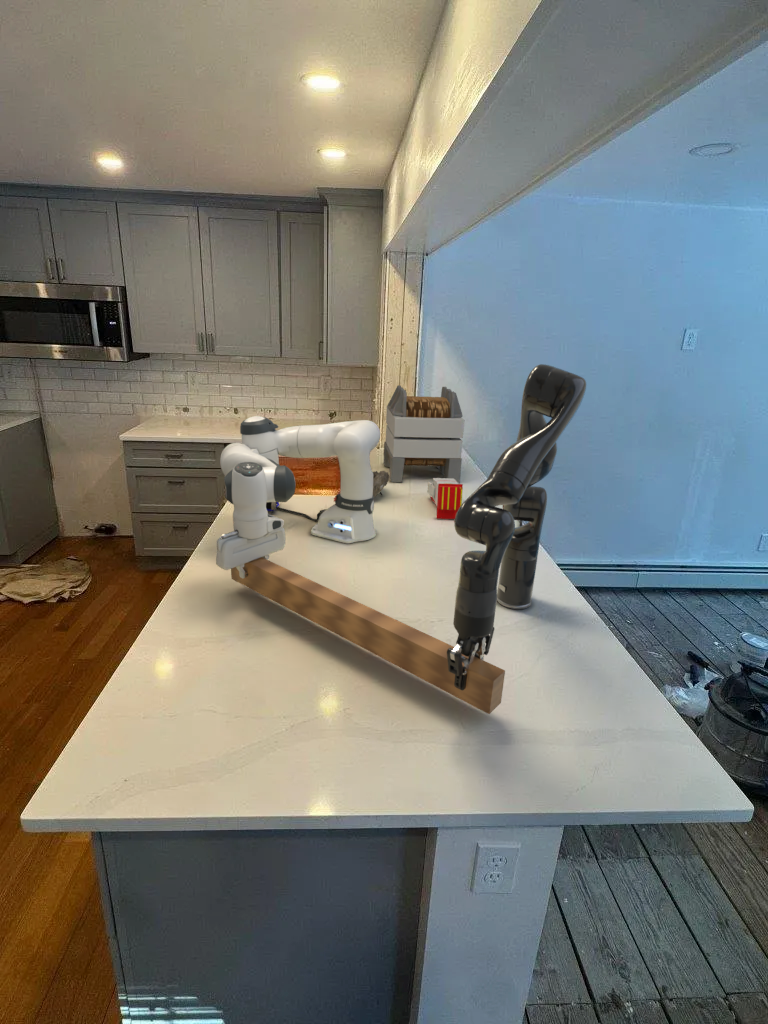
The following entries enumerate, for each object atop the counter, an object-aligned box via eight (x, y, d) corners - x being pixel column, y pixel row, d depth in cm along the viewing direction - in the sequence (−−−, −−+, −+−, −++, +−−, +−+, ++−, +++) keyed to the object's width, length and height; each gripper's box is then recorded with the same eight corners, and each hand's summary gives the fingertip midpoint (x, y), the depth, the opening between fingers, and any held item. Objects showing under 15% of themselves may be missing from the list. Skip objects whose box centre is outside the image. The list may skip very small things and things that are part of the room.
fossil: (358, 476, 249) (385, 458, 244) (371, 493, 252) (398, 475, 247) (350, 497, 229) (380, 477, 224) (365, 515, 232) (394, 496, 227)
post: (231, 578, 155) (229, 553, 152) (244, 573, 158) (243, 548, 156) (489, 714, 107) (493, 681, 105) (500, 703, 111) (505, 670, 108)
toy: (455, 474, 240) (467, 485, 211) (453, 505, 243) (464, 520, 214) (426, 473, 240) (434, 484, 211) (425, 504, 243) (432, 519, 213)
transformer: (382, 463, 289) (386, 382, 275) (445, 464, 293) (451, 384, 279) (390, 482, 257) (394, 392, 243) (460, 483, 261) (468, 394, 247)
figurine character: (276, 519, 211) (282, 502, 225) (275, 501, 208) (281, 484, 221) (258, 519, 211) (265, 501, 225) (257, 500, 208) (264, 484, 221)
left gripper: (224, 540, 138) (227, 590, 142) (288, 519, 152) (289, 565, 157) (209, 532, 141) (212, 582, 146) (273, 513, 156) (274, 558, 161)
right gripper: (472, 628, 99) (463, 708, 105) (511, 599, 109) (501, 673, 115) (437, 612, 103) (430, 690, 109) (477, 586, 114) (469, 658, 120)
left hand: (253, 573), depth 152 cm, fingers closed on post, 4 cm apart
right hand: (466, 681), depth 112 cm, fingers closed on post, 4 cm apart
